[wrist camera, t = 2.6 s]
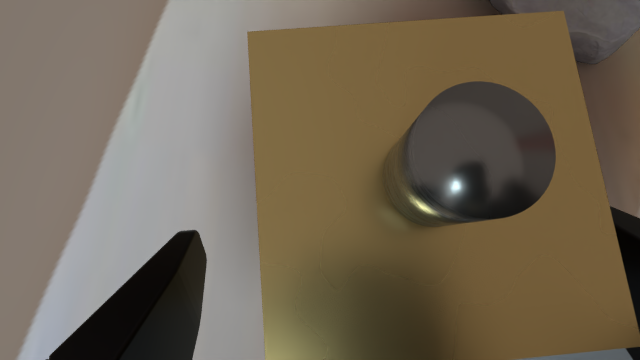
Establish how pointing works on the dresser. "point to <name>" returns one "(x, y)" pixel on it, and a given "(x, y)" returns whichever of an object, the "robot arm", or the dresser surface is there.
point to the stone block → (586, 22)
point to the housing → (431, 194)
